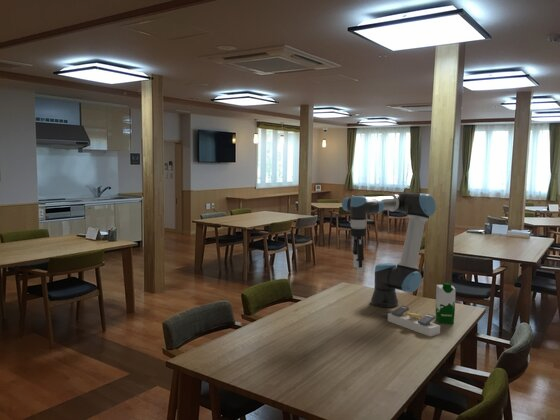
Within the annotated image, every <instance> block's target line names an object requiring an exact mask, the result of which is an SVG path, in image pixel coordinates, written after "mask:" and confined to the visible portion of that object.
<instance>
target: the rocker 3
mask: <svg viewBox="0 0 560 420" xmlns="http://www.w3.org/2000/svg"><path fill="white" fill-rule="evenodd" d="M435 319H436V315H434V314H430V313H428V314H426V315H424V316H422V318H420V320H418V323H419V324H422V325H427V324H428V323H430V322H432V321H434V320H435ZM436 320H437V319H436Z"/></svg>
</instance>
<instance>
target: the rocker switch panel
mask: <svg viewBox="0 0 560 420" xmlns="http://www.w3.org/2000/svg"><path fill="white" fill-rule="evenodd" d="M392 312H393V311H391V312H388V313H386V312H383V311H380V312H379V313H380V315H383V316H386V317H387V322H390V323H393V324H395V325H397V326H400V327H402V328H406V329H408V330H410V331H411V330H412V331H414V332H417V333H419V334H422V335H424V336H427V337H431V338H432V337H434V336H437V335H440V334H441V325H440V324H439V323H438V324H437V323H434V322H432V321H431V322H430V323H428V324H427V325H422V324H419V323H418V320H420V319H421V318H417V317H410V316H407V315H404V314H405V313H403V314H401V315H400V316H396V315H393V314H392Z"/></svg>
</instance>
